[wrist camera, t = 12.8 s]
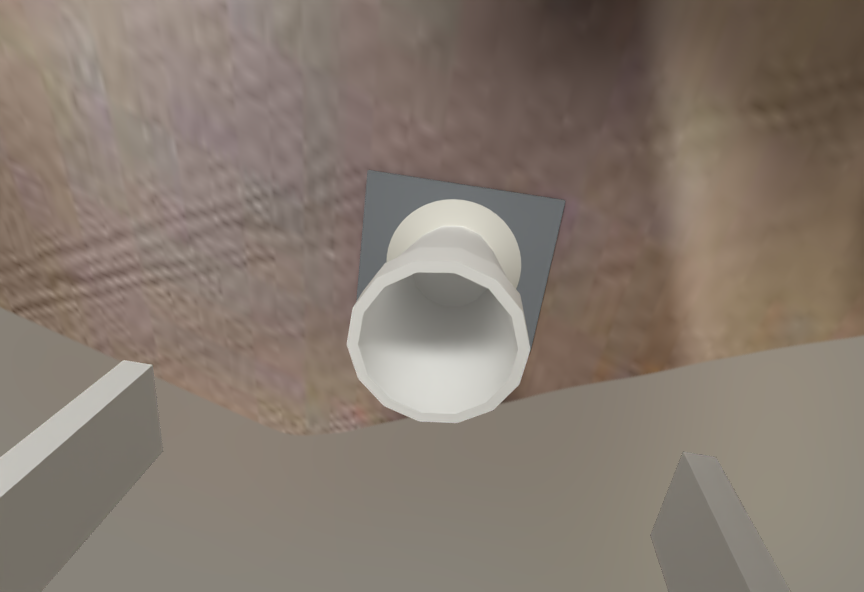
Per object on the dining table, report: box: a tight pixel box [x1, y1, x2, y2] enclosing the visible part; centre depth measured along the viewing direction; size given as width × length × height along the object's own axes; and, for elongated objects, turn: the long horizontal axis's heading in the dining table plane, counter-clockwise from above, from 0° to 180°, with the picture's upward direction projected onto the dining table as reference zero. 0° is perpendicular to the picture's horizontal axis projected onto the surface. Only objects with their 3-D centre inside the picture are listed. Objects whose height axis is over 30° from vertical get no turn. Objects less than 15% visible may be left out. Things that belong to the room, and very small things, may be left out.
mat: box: [356, 170, 565, 351], centre depth 40 cm, size 12×14×1 cm
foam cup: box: [347, 226, 530, 423], centre depth 33 cm, size 10×9×13 cm
